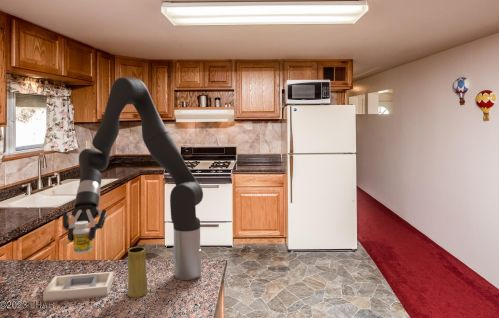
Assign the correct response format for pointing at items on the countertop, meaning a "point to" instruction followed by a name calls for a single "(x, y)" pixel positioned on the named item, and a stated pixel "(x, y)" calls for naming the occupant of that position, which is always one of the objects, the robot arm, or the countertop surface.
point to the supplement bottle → (82, 237)
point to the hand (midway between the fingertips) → (81, 240)
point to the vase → (137, 272)
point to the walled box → (78, 286)
